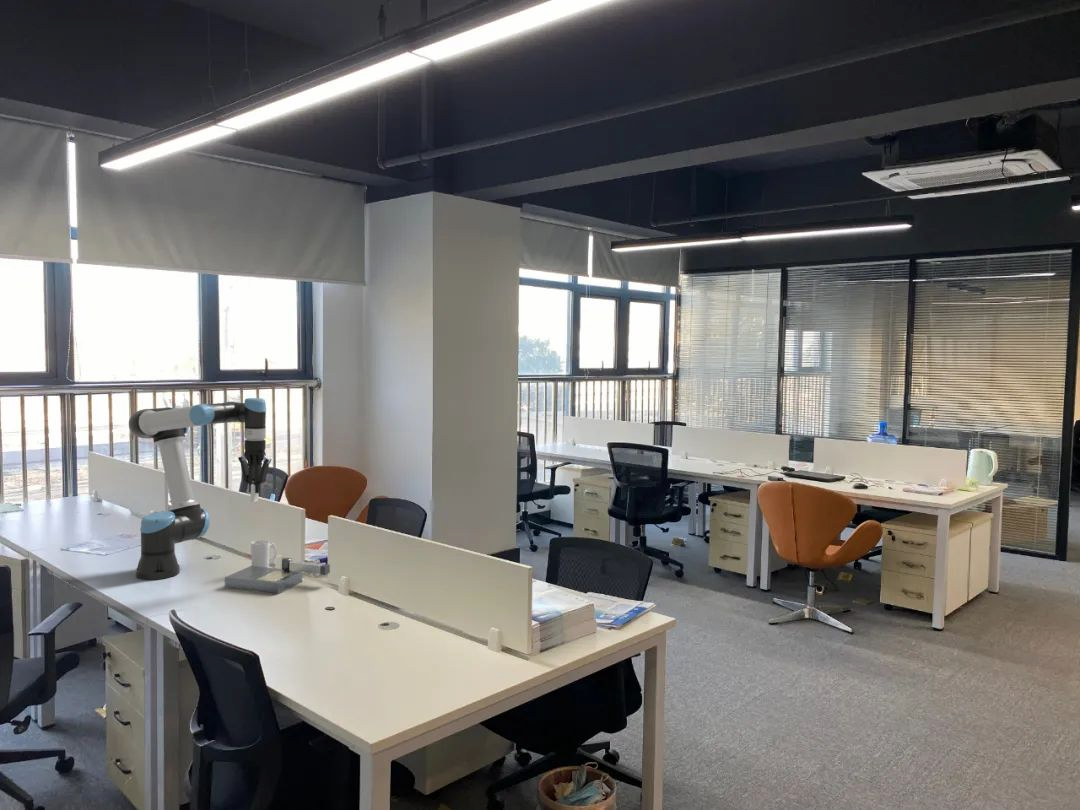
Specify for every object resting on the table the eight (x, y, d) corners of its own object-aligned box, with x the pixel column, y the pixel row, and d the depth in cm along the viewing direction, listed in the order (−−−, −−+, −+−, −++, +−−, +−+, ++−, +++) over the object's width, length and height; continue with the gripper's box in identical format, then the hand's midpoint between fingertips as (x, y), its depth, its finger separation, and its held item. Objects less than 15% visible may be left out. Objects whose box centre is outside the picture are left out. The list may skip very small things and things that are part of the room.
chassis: (224, 587, 283) (225, 576, 283) (251, 575, 299) (251, 564, 299) (278, 594, 278) (278, 582, 278) (302, 581, 294) (302, 570, 293)
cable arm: (279, 569, 292) (279, 559, 292) (285, 567, 296) (285, 557, 296) (324, 575, 287) (324, 565, 287) (329, 572, 291) (330, 562, 290)
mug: (255, 575, 299) (255, 545, 299) (248, 571, 304) (248, 541, 304) (280, 571, 306) (280, 541, 305) (272, 567, 311) (273, 538, 310)
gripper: (233, 439, 288) (233, 501, 290) (264, 441, 285) (264, 504, 287) (245, 437, 295) (245, 498, 297) (276, 439, 292) (275, 500, 294)
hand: (254, 501), depth 292 cm, fingers closed
